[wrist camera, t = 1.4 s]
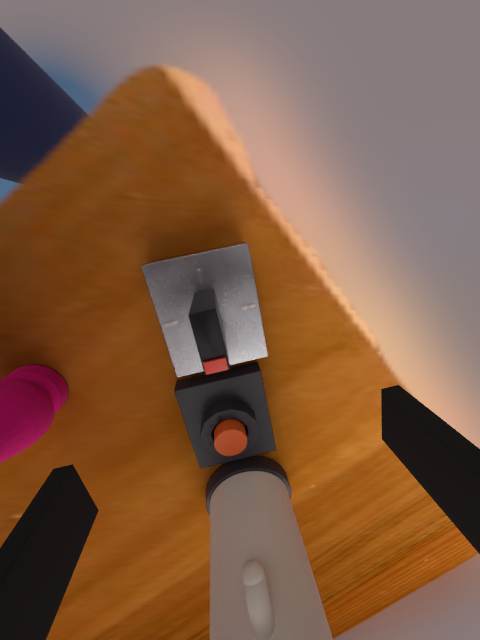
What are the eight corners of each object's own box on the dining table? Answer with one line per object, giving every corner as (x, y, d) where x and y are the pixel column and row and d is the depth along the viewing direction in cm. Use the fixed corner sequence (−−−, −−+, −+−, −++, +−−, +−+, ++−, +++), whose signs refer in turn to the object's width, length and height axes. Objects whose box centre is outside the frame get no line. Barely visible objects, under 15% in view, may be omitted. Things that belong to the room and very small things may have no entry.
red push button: (210, 422, 28) (210, 434, 27) (241, 415, 29) (244, 426, 27) (218, 447, 30) (218, 459, 28) (247, 439, 30) (250, 451, 28)
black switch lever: (193, 293, 24) (187, 315, 17) (214, 288, 24) (216, 309, 17) (206, 340, 26) (204, 377, 19) (225, 335, 26) (230, 371, 19)
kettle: (191, 450, 34) (170, 691, 16) (277, 428, 34) (352, 639, 16) (218, 530, 39) (226, 777, 21) (293, 511, 40) (361, 736, 22)
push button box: (176, 380, 30) (171, 401, 26) (257, 361, 31) (264, 379, 27) (200, 455, 34) (199, 482, 30) (272, 437, 35) (279, 462, 31)
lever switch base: (148, 262, 26) (140, 265, 23) (243, 242, 26) (248, 242, 23) (180, 364, 30) (176, 378, 27) (262, 345, 30) (268, 357, 27)
